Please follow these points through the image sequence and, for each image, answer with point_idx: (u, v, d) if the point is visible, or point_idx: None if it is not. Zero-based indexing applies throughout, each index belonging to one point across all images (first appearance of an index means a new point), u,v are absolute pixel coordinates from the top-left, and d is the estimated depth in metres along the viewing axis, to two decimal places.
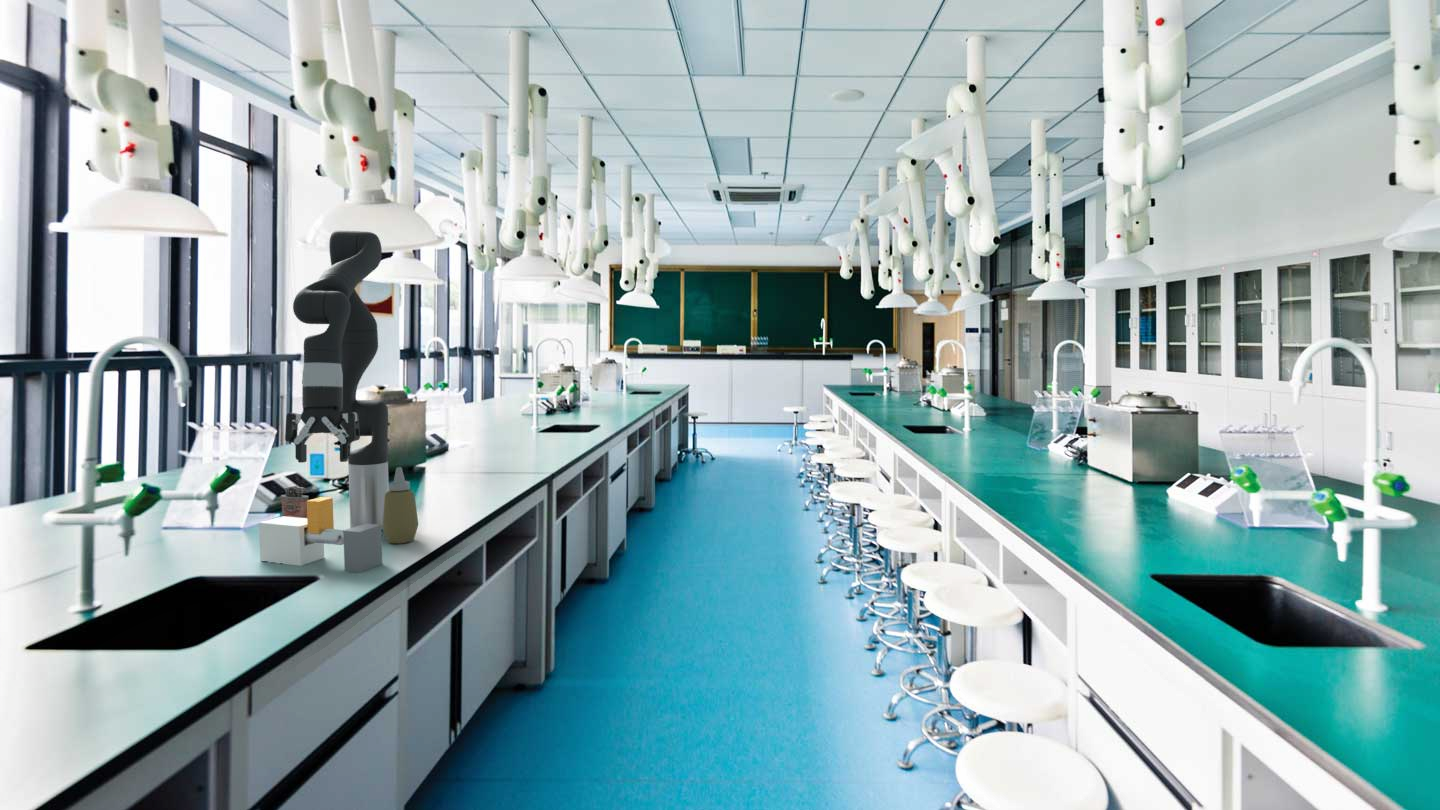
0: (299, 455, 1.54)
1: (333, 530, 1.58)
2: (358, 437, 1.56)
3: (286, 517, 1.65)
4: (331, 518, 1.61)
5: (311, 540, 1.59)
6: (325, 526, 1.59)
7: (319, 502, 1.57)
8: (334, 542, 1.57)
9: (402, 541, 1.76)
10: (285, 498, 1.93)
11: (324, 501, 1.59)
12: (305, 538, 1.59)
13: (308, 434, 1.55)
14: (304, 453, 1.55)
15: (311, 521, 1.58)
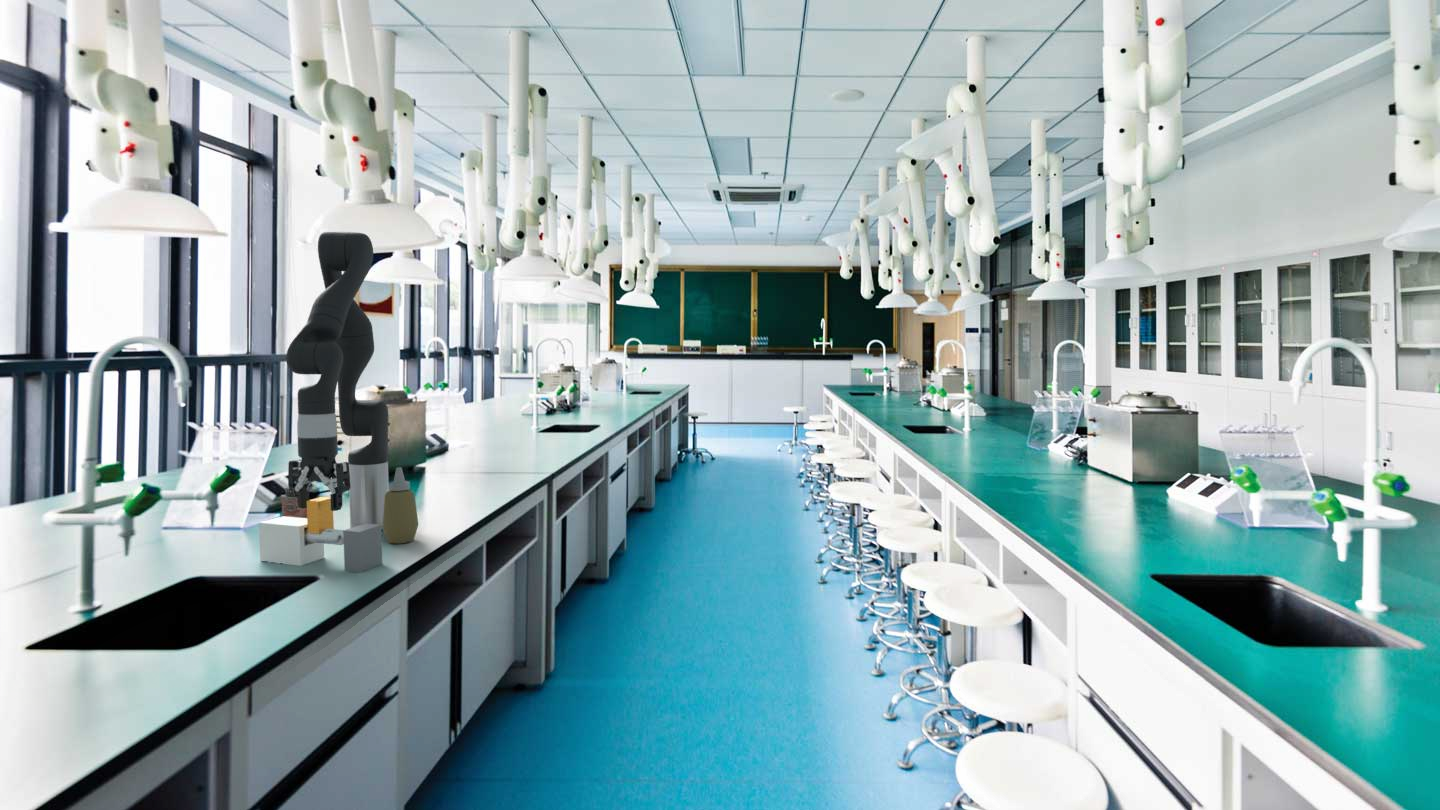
0: (299, 502, 1.59)
1: (333, 530, 1.58)
2: (348, 487, 1.57)
3: (286, 517, 1.65)
4: (331, 518, 1.61)
5: (311, 540, 1.59)
6: (325, 526, 1.59)
7: (319, 502, 1.57)
8: (334, 542, 1.57)
9: (402, 541, 1.76)
10: (285, 498, 1.93)
11: (324, 501, 1.59)
12: (305, 538, 1.59)
13: (307, 481, 1.59)
14: (305, 499, 1.60)
15: (311, 521, 1.58)
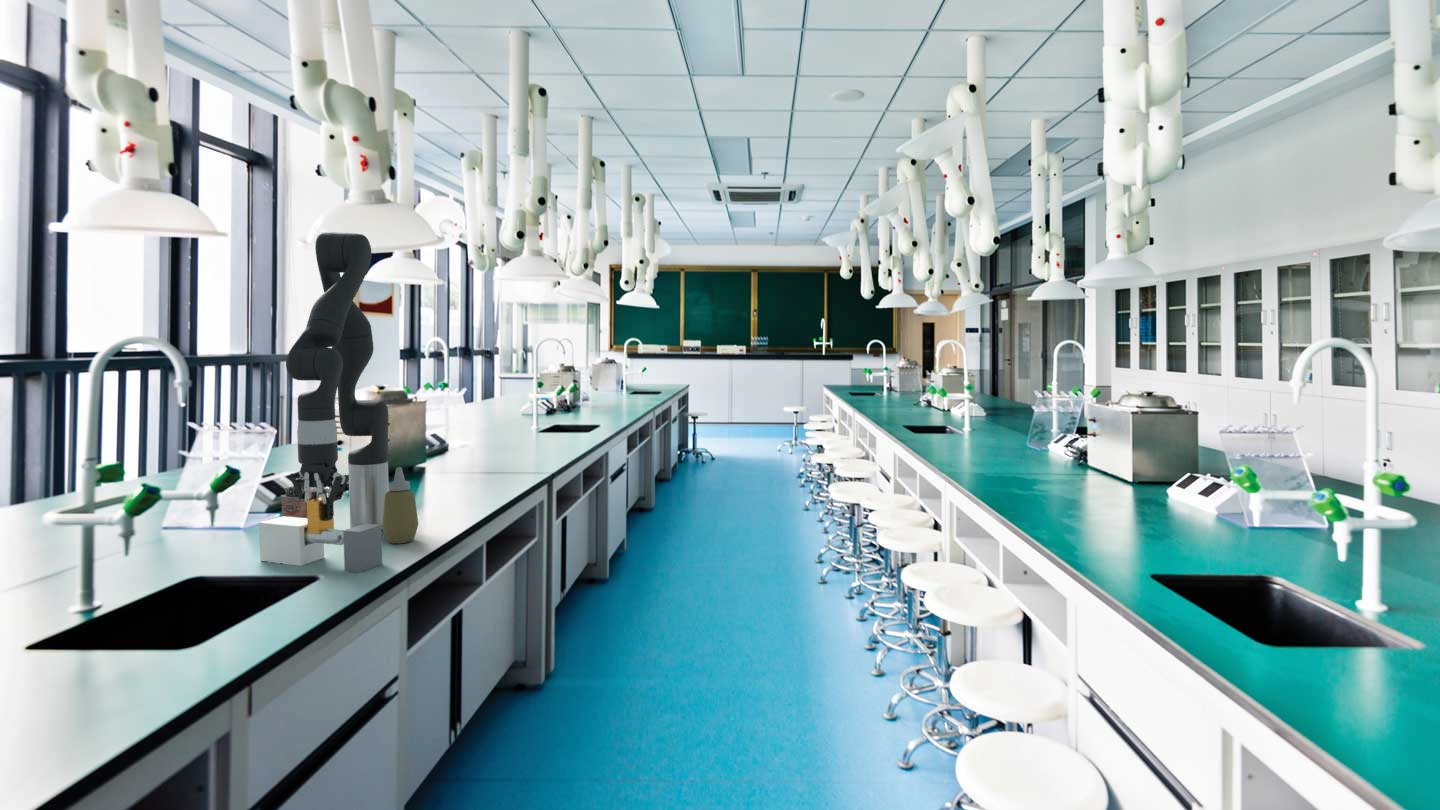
0: None
1: (333, 530, 1.58)
2: (339, 497, 1.58)
3: (286, 517, 1.65)
4: None
5: (311, 540, 1.59)
6: (325, 526, 1.59)
7: (319, 502, 1.57)
8: (334, 542, 1.57)
9: (402, 541, 1.76)
10: (285, 498, 1.93)
11: None
12: (305, 538, 1.59)
13: (314, 489, 1.59)
14: None
15: (311, 521, 1.58)
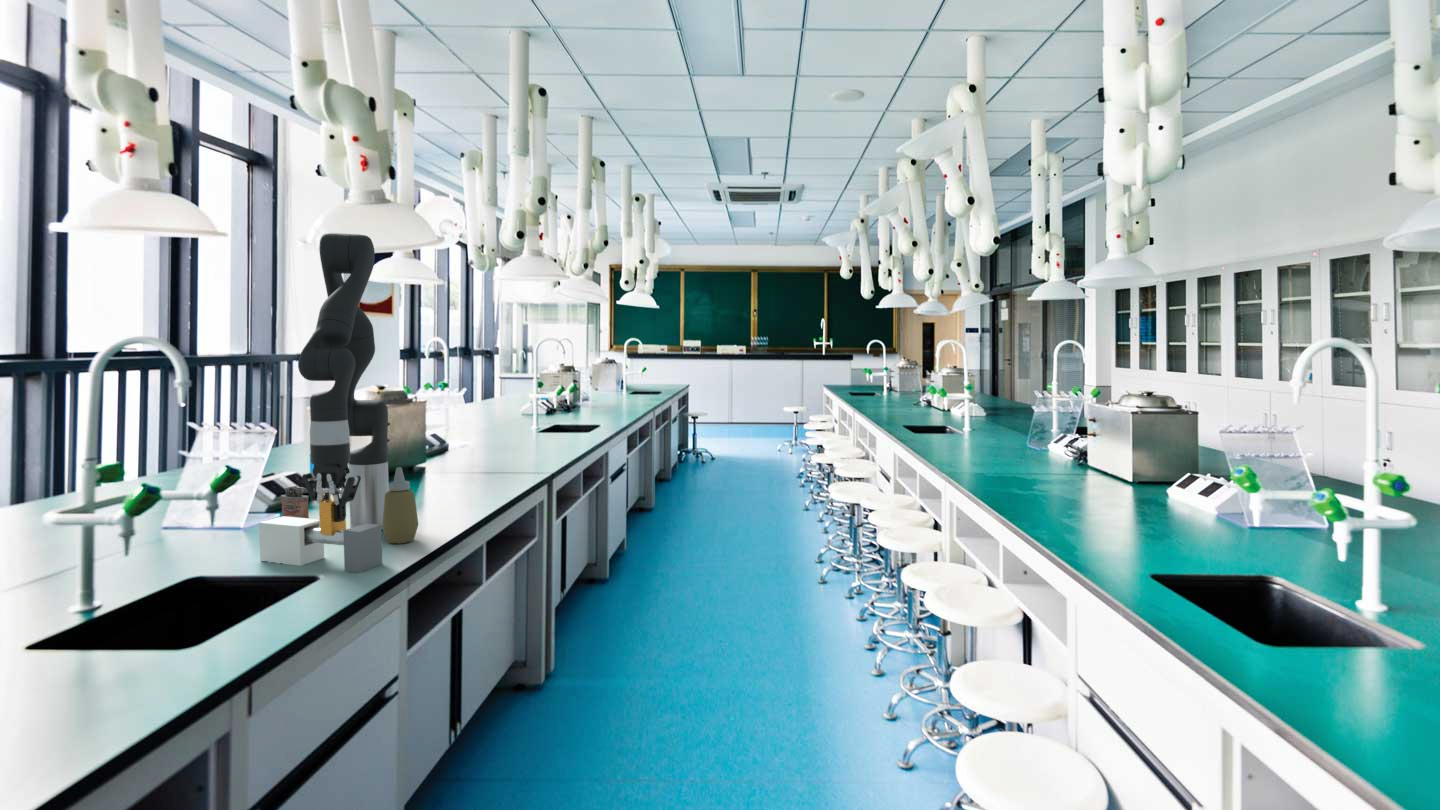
0: None
1: None
2: (351, 498, 1.57)
3: (286, 517, 1.65)
4: None
5: (323, 541, 1.58)
6: (338, 528, 1.58)
7: (332, 503, 1.56)
8: None
9: (402, 541, 1.76)
10: (285, 498, 1.93)
11: None
12: (317, 539, 1.58)
13: (326, 490, 1.58)
14: None
15: (323, 522, 1.57)
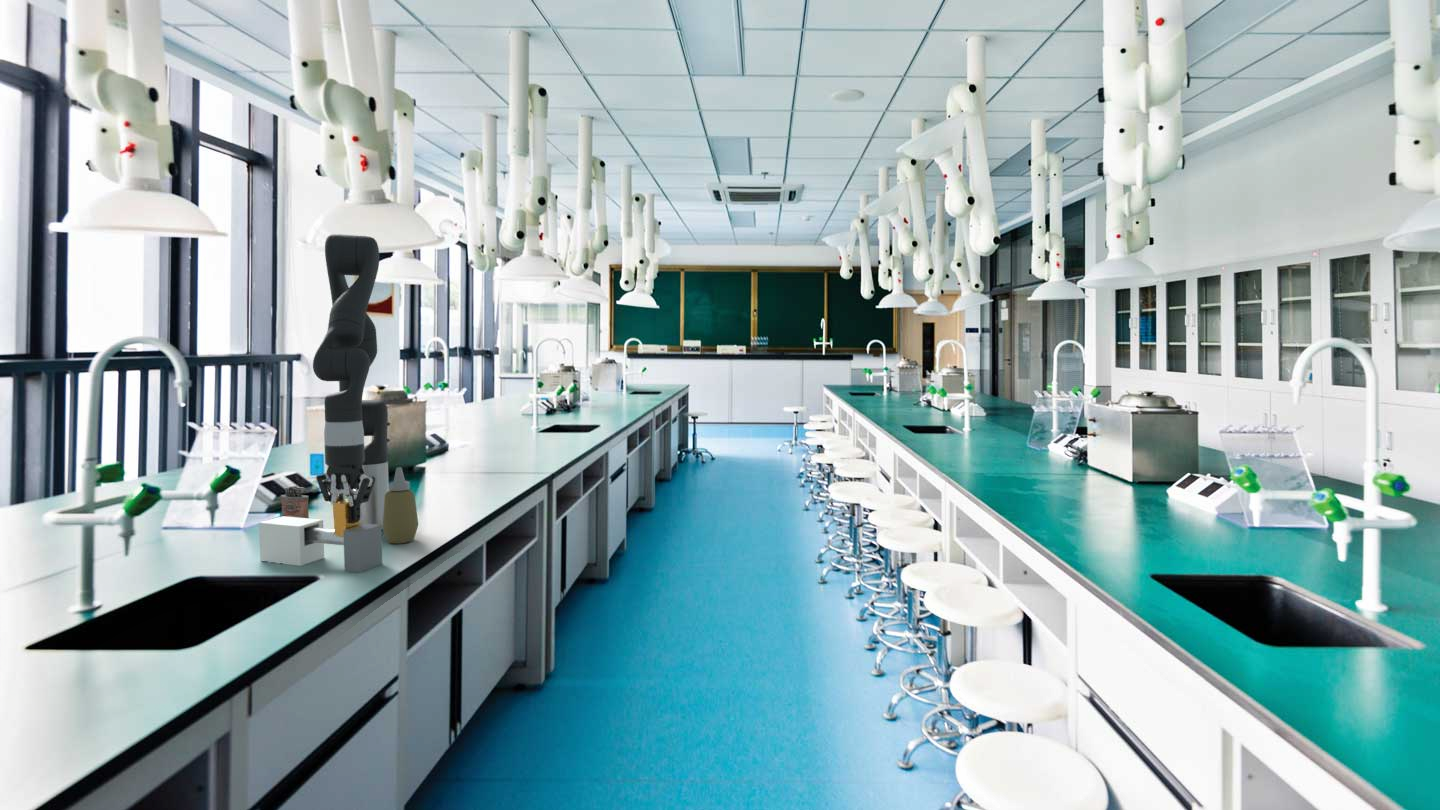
0: None
1: None
2: (366, 499, 1.56)
3: (286, 517, 1.65)
4: None
5: (338, 543, 1.57)
6: None
7: (346, 504, 1.55)
8: None
9: (402, 541, 1.76)
10: (285, 498, 1.93)
11: None
12: (331, 541, 1.57)
13: (340, 491, 1.57)
14: None
15: (338, 523, 1.56)
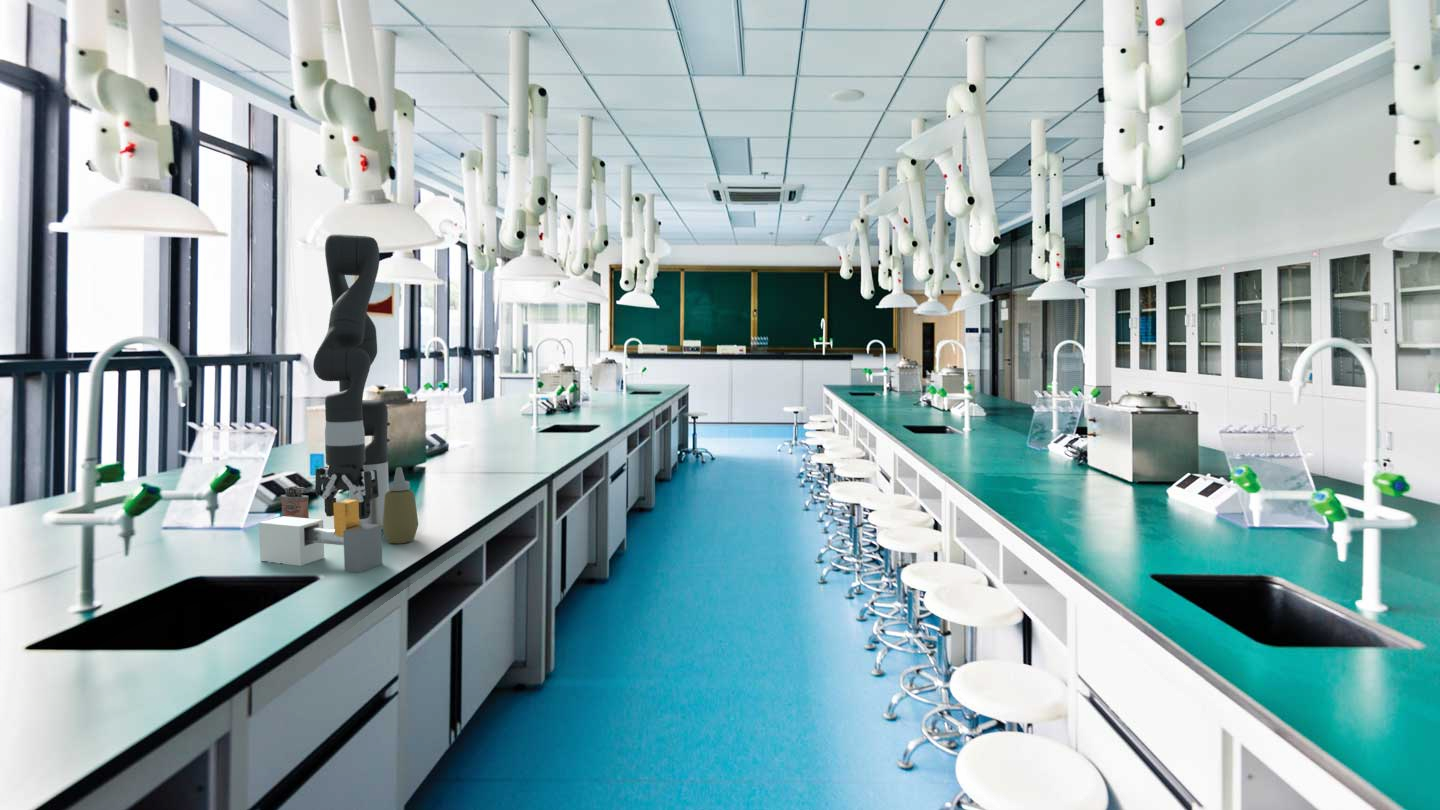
0: (327, 509, 1.58)
1: None
2: (376, 495, 1.56)
3: (286, 517, 1.65)
4: (358, 520, 1.59)
5: (338, 543, 1.57)
6: None
7: (346, 504, 1.55)
8: None
9: (402, 541, 1.76)
10: (285, 498, 1.93)
11: (351, 503, 1.57)
12: (331, 541, 1.57)
13: (335, 489, 1.58)
14: (333, 507, 1.59)
15: (338, 523, 1.56)
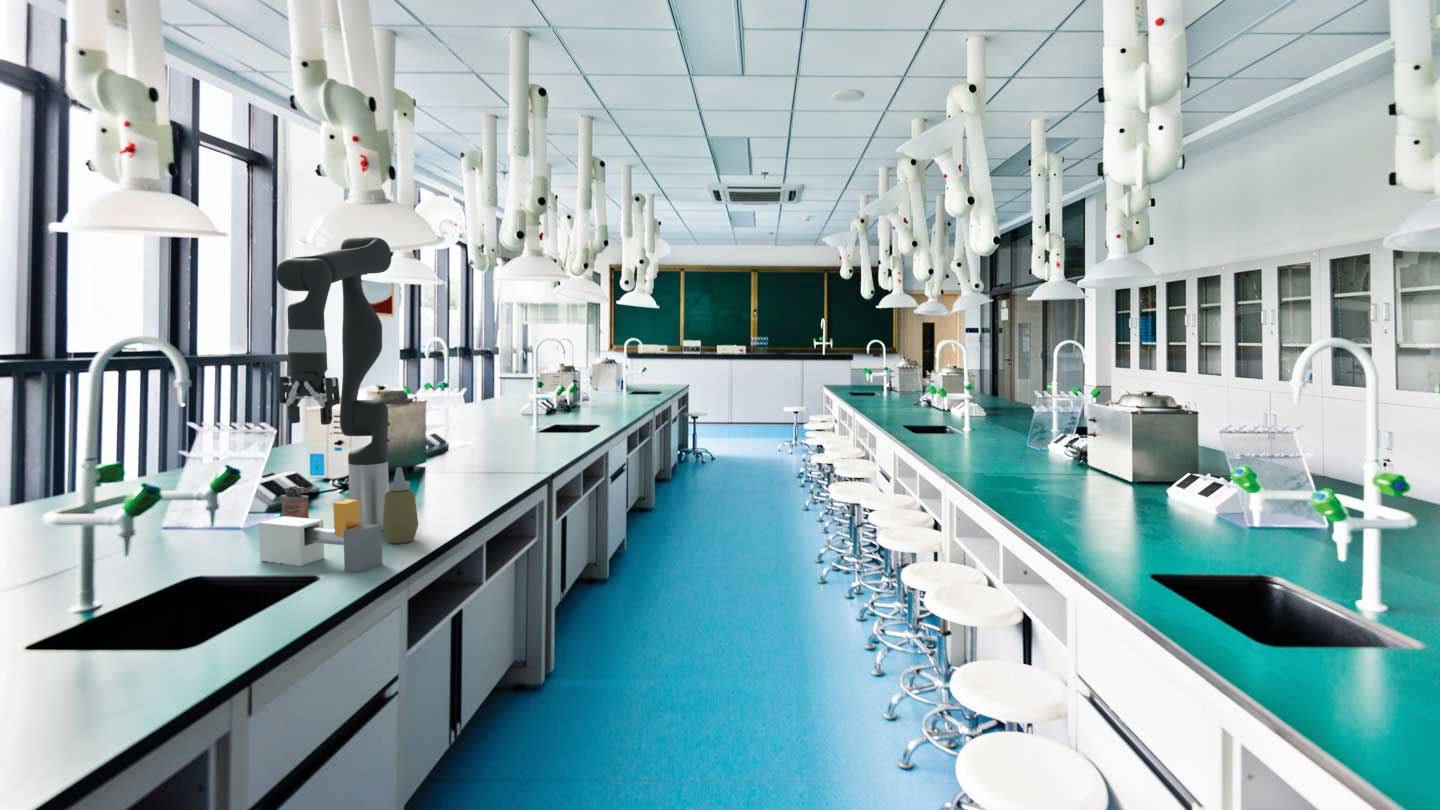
0: (290, 416, 1.63)
1: None
2: (337, 401, 1.62)
3: (286, 517, 1.65)
4: (358, 520, 1.59)
5: (338, 543, 1.57)
6: None
7: (346, 504, 1.55)
8: None
9: (402, 541, 1.76)
10: (285, 498, 1.93)
11: (351, 503, 1.57)
12: (331, 541, 1.57)
13: (298, 397, 1.64)
14: (296, 414, 1.64)
15: (338, 523, 1.56)
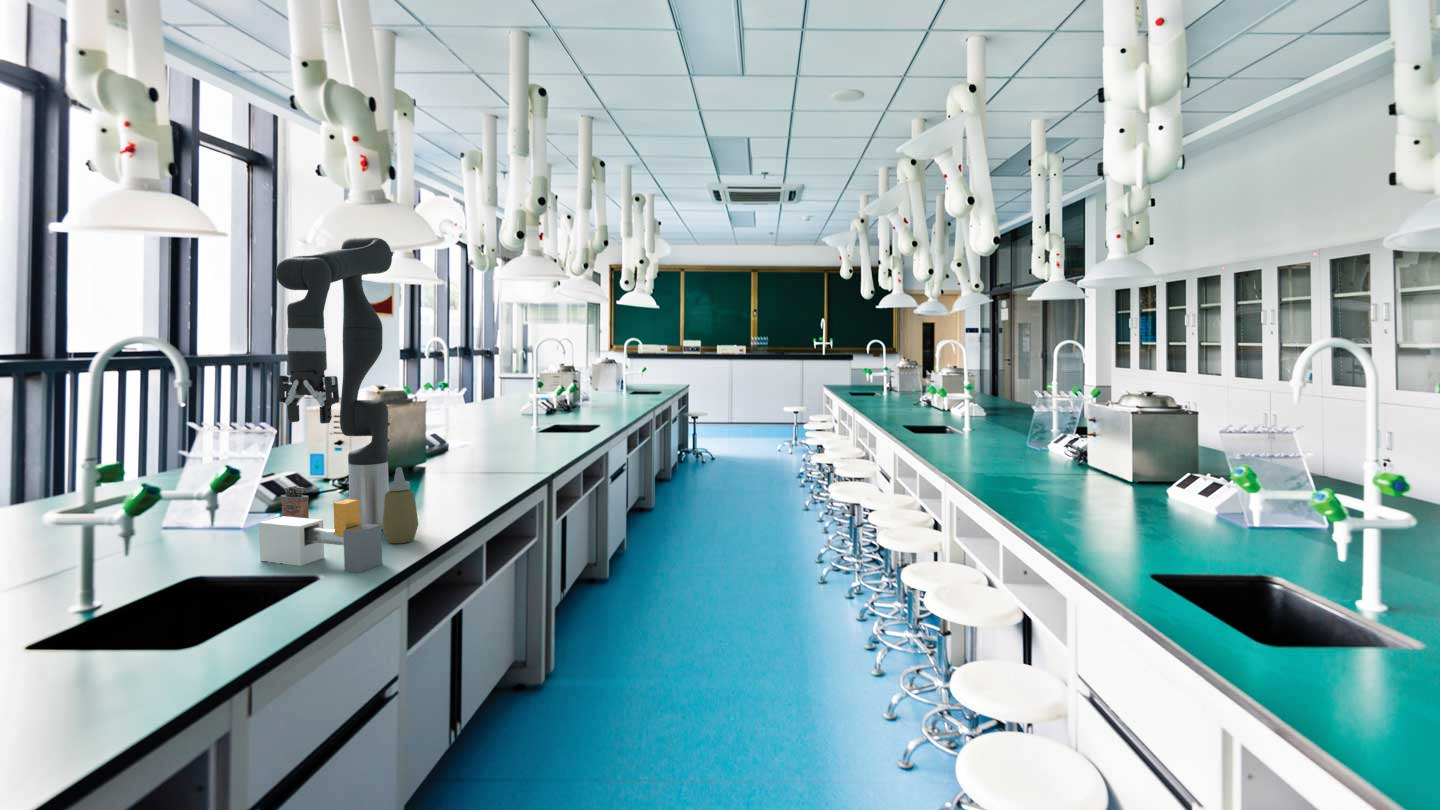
0: (289, 415, 1.63)
1: None
2: (336, 400, 1.62)
3: (286, 517, 1.65)
4: (358, 520, 1.59)
5: (338, 543, 1.57)
6: None
7: (346, 504, 1.55)
8: None
9: (402, 541, 1.76)
10: (285, 498, 1.93)
11: (351, 503, 1.57)
12: (331, 541, 1.57)
13: (297, 396, 1.64)
14: (295, 413, 1.64)
15: (338, 523, 1.56)
